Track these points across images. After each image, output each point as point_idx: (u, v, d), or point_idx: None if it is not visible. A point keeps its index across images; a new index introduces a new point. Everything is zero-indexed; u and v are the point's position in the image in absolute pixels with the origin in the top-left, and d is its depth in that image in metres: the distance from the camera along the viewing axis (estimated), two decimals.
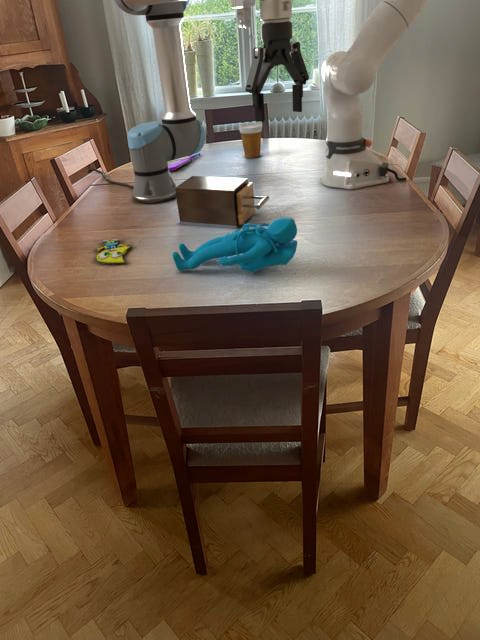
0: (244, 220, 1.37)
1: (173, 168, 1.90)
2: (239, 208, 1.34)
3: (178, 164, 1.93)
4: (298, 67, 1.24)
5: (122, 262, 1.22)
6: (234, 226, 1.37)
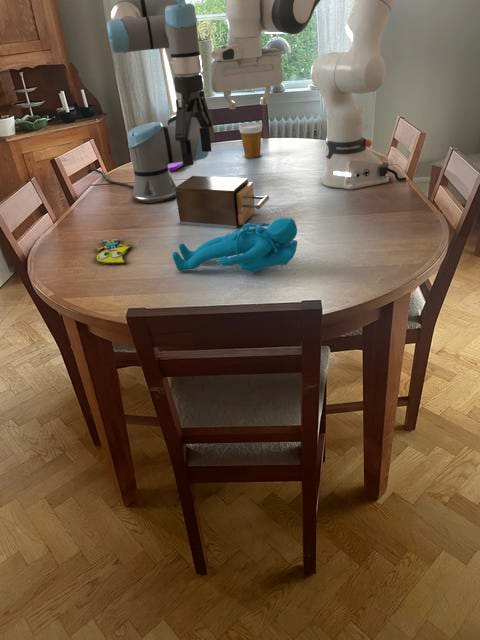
0: (244, 220, 1.37)
1: (173, 168, 1.90)
2: (239, 208, 1.34)
3: (178, 164, 1.93)
4: None
5: (122, 262, 1.22)
6: (234, 226, 1.37)
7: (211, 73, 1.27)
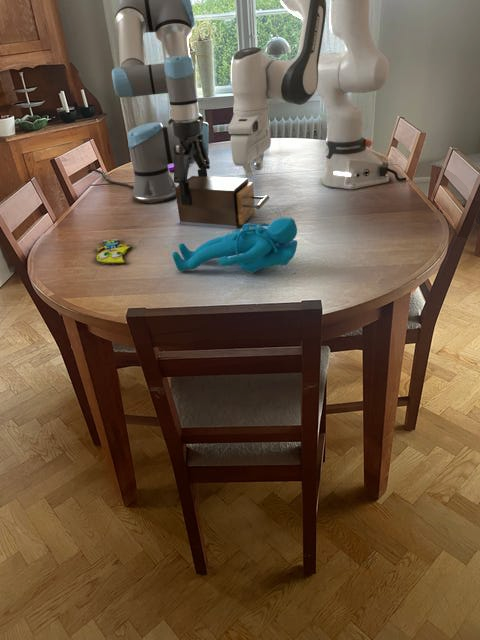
0: (244, 220, 1.37)
1: (173, 168, 1.90)
2: (239, 208, 1.34)
3: None
4: None
5: (122, 262, 1.22)
6: (234, 226, 1.37)
7: (238, 148, 1.20)
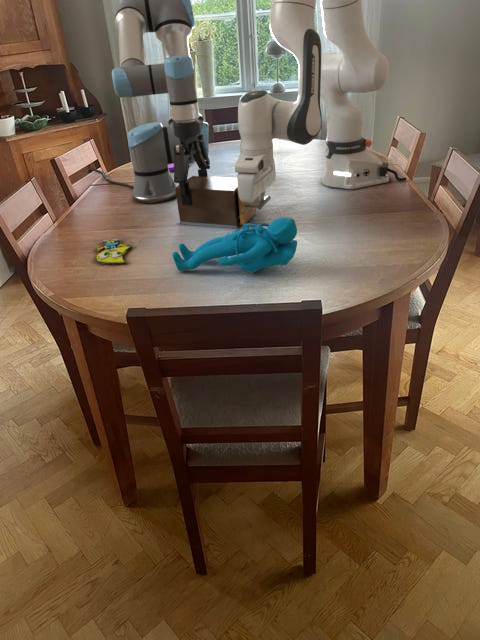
0: (246, 220, 1.37)
1: (173, 168, 1.90)
2: (241, 208, 1.34)
3: None
4: None
5: (122, 262, 1.22)
6: (234, 226, 1.37)
7: (244, 185, 1.25)
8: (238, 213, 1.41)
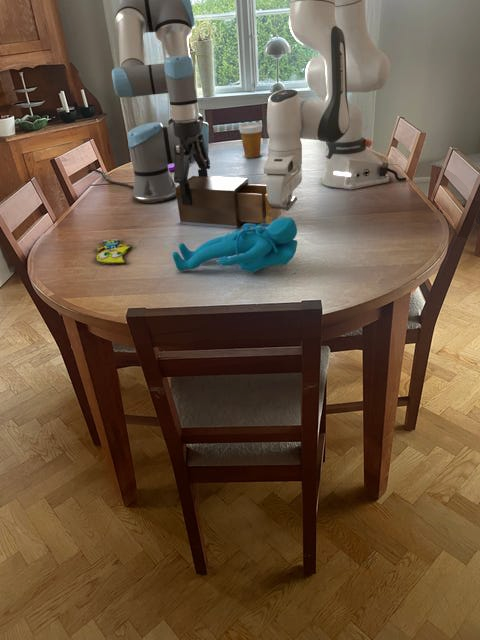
0: None
1: (173, 168, 1.90)
2: (267, 210, 1.31)
3: None
4: None
5: (122, 262, 1.22)
6: (234, 226, 1.37)
7: (273, 187, 1.22)
8: (264, 215, 1.38)
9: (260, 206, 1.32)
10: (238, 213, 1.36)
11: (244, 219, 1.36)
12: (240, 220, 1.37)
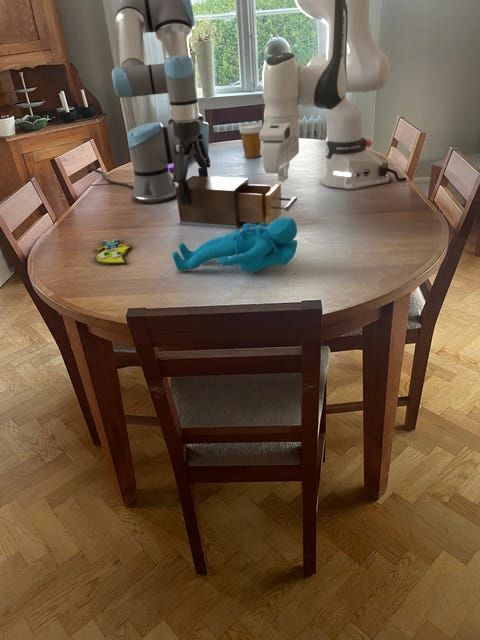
0: None
1: None
2: (268, 210, 1.31)
3: None
4: None
5: (122, 262, 1.22)
6: (234, 226, 1.37)
7: (269, 155, 1.18)
8: (263, 215, 1.38)
9: (260, 206, 1.32)
10: (238, 213, 1.36)
11: (244, 219, 1.36)
12: (240, 220, 1.37)
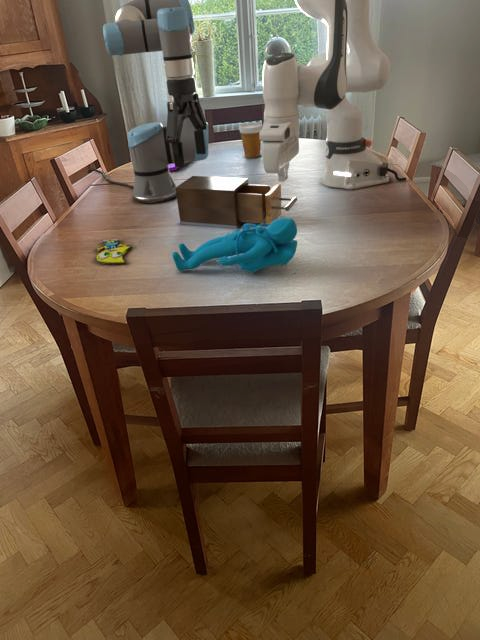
0: None
1: (173, 168, 1.90)
2: (268, 210, 1.31)
3: None
4: None
5: (122, 262, 1.22)
6: (234, 226, 1.37)
7: (269, 155, 1.18)
8: (263, 215, 1.38)
9: (260, 206, 1.32)
10: (238, 213, 1.36)
11: (244, 219, 1.36)
12: (240, 220, 1.37)
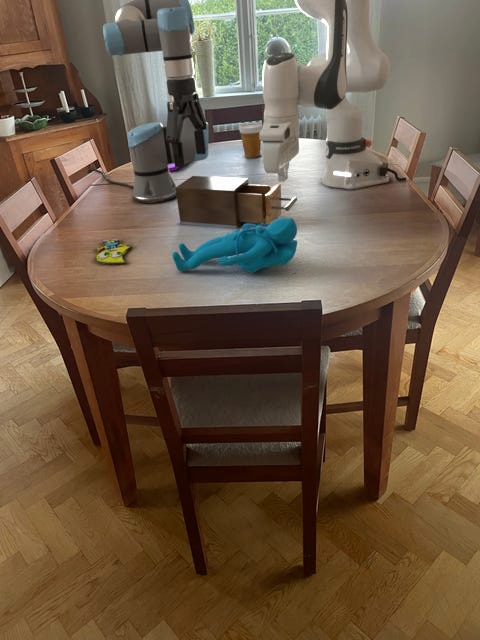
0: None
1: (173, 168, 1.90)
2: (268, 210, 1.31)
3: None
4: None
5: (122, 262, 1.22)
6: (234, 226, 1.37)
7: (269, 155, 1.18)
8: (263, 215, 1.38)
9: (260, 206, 1.32)
10: (238, 213, 1.36)
11: (244, 219, 1.36)
12: (240, 220, 1.37)
